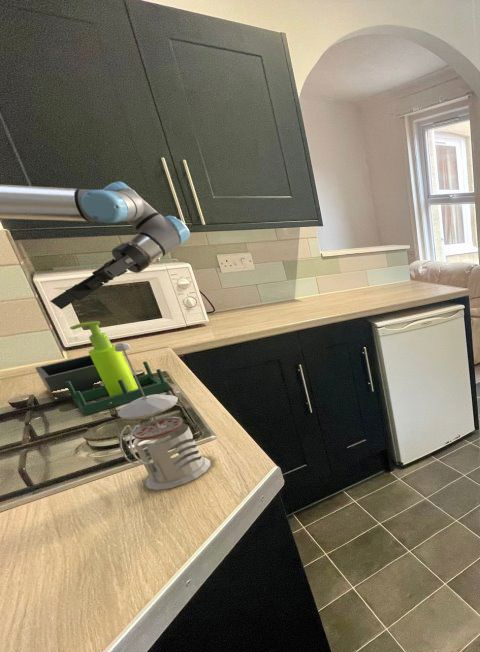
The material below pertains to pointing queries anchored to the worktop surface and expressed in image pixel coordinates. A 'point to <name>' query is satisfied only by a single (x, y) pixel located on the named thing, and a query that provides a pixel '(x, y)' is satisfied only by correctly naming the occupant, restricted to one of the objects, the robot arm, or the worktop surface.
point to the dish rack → (120, 399)
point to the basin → (69, 375)
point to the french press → (163, 467)
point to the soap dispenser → (108, 361)
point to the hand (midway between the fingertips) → (64, 300)
